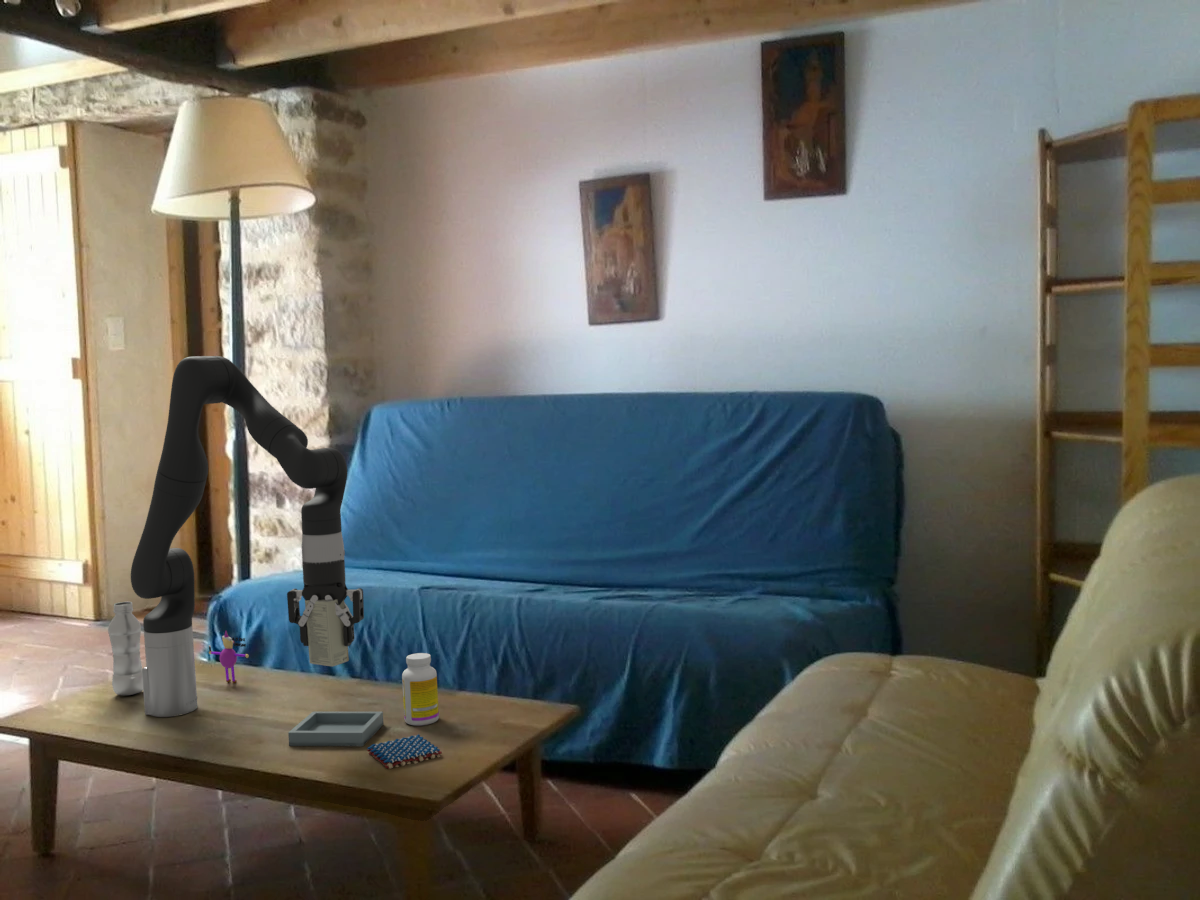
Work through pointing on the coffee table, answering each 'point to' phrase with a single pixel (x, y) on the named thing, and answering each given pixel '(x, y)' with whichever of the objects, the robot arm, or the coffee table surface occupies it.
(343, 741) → the tray
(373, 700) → the coffee table surface
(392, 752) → the woven mat
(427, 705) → the supplement bottle
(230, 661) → the wizard figurine
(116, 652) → the plastic bottle
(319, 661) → the skincare box
